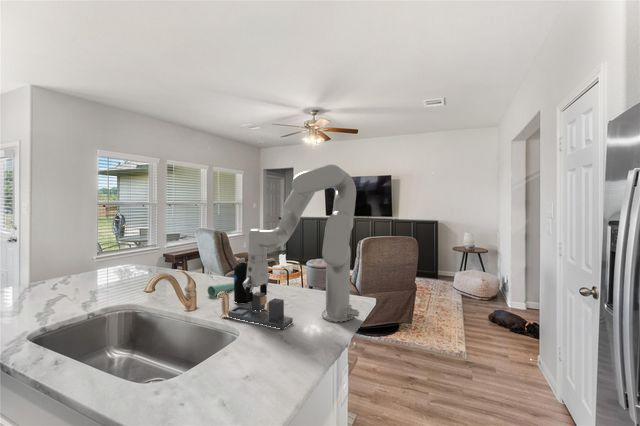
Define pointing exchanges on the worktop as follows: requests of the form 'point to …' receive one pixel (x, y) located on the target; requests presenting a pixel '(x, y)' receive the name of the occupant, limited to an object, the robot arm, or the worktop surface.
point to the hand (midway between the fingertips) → (256, 297)
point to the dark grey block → (258, 301)
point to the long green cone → (219, 288)
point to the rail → (263, 314)
